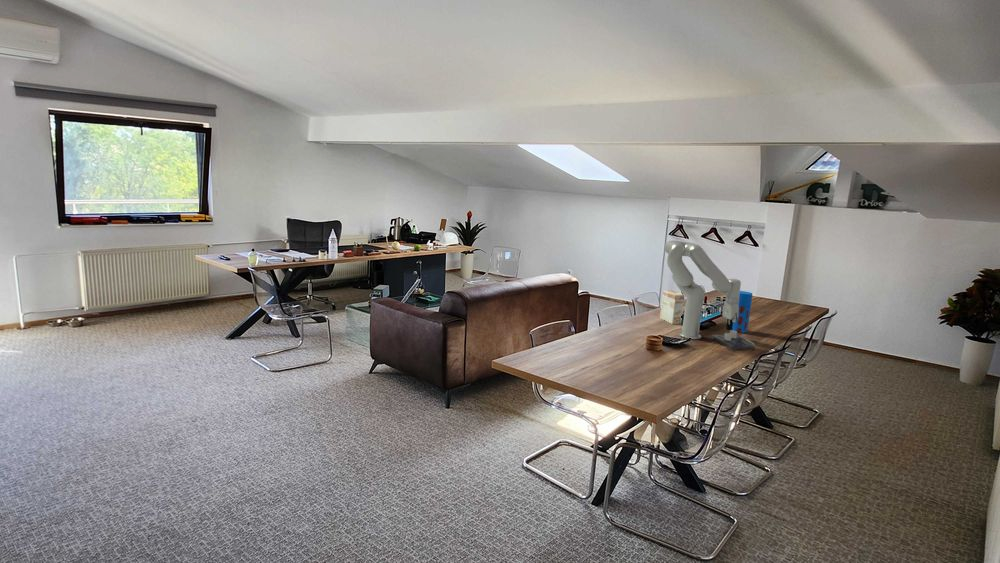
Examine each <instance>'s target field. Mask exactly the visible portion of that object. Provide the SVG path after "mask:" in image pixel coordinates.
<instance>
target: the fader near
mask: <svg viewBox="0 0 1000 563" xmlns="http://www.w3.org/2000/svg"><path fill="white" fill-rule="evenodd" d="M724 335H725V336H724V339H725V340H726V341H731V335H732V334H731V333H730V332H724Z"/></svg>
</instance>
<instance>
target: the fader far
mask: <svg viewBox="0 0 1000 563" xmlns="http://www.w3.org/2000/svg"><path fill="white" fill-rule="evenodd" d="M729 333H731V334H732V335H731V338H736V336H737V335H738V333H737V331H735V330H731V331H730V330H729Z"/></svg>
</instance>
